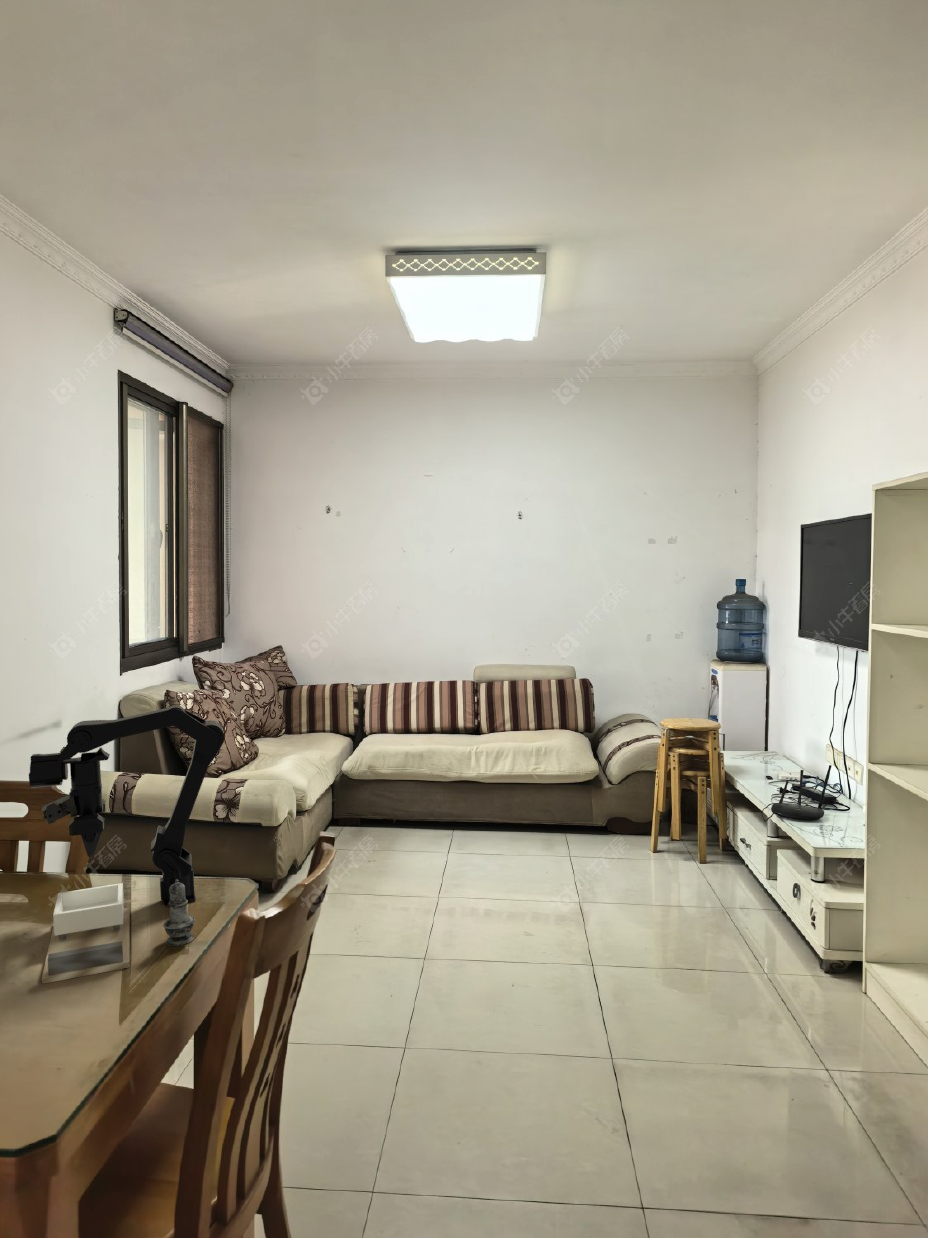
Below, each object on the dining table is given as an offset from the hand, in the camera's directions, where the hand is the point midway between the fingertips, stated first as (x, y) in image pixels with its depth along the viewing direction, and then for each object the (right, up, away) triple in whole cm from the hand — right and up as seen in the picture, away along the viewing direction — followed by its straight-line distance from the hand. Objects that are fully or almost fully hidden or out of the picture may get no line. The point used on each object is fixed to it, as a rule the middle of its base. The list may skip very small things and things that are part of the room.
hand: (90, 856), depth 175 cm
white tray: (+4, -11, -10) cm, 15 cm away
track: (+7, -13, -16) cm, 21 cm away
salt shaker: (+24, -12, -15) cm, 30 cm away
